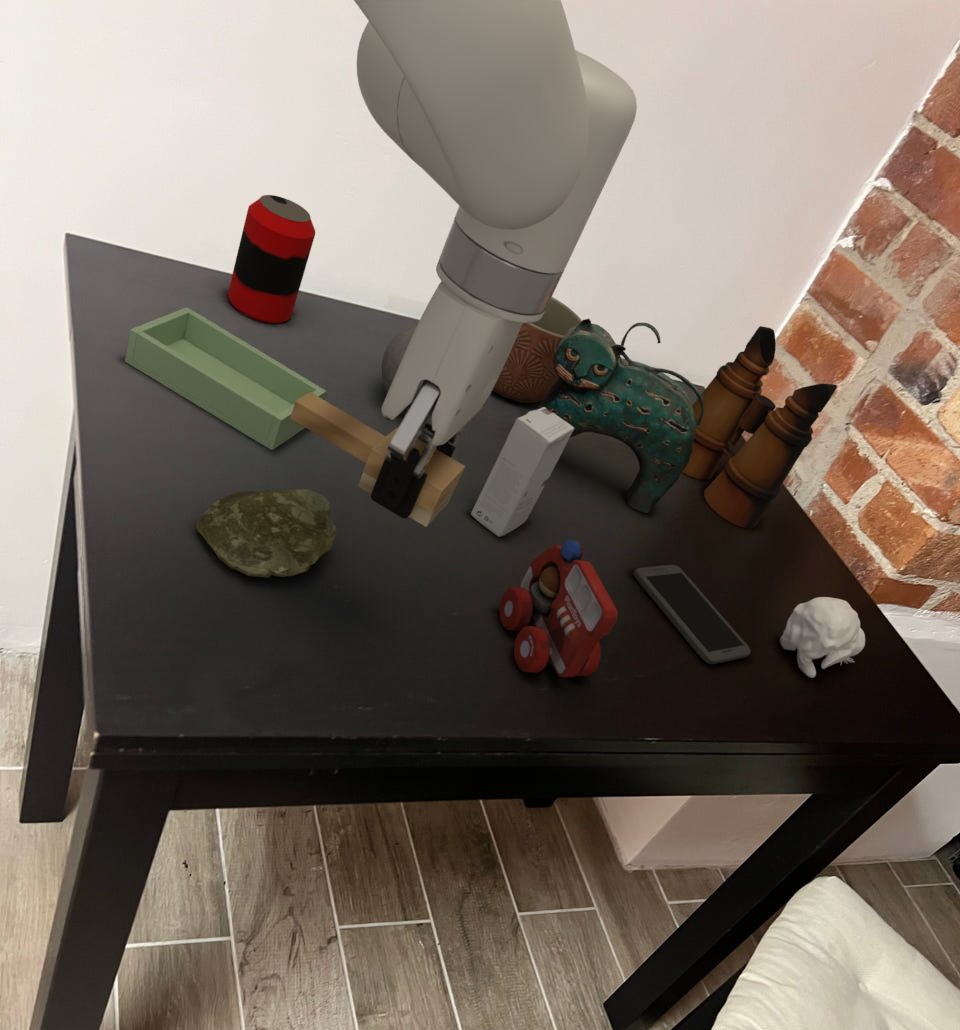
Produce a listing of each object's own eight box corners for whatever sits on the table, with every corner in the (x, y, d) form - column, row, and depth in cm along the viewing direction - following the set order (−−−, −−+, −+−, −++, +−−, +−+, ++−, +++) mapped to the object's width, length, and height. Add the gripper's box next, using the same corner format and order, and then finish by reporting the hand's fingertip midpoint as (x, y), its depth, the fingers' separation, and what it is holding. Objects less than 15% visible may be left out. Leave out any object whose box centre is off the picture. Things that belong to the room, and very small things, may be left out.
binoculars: (769, 527, 122) (866, 402, 110) (731, 529, 117) (829, 398, 105) (688, 442, 131) (769, 318, 119) (649, 441, 126) (730, 310, 114)
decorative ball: (462, 438, 105) (497, 363, 99) (384, 427, 100) (416, 347, 94) (434, 389, 111) (465, 315, 105) (359, 376, 106) (387, 297, 99)
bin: (124, 361, 89) (130, 328, 87) (180, 337, 96) (186, 306, 94) (271, 450, 88) (281, 420, 86) (316, 419, 95) (326, 390, 93)
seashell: (176, 514, 74) (267, 432, 74) (202, 532, 81) (285, 456, 82) (261, 605, 73) (352, 521, 74) (280, 615, 81) (363, 538, 81)
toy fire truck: (549, 601, 89) (599, 521, 83) (591, 698, 82) (650, 618, 75) (487, 593, 86) (534, 509, 80) (525, 693, 78) (581, 609, 72)
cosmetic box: (500, 539, 94) (552, 444, 86) (466, 514, 94) (515, 417, 87) (527, 521, 98) (579, 429, 91) (495, 497, 99) (544, 403, 92)
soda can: (276, 293, 112) (302, 197, 104) (300, 327, 108) (330, 231, 101) (217, 285, 107) (240, 185, 100) (241, 321, 103) (267, 219, 96)
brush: (276, 439, 68) (288, 398, 66) (307, 418, 71) (319, 379, 69) (425, 528, 67) (442, 490, 65) (448, 502, 71) (465, 466, 69)
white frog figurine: (812, 582, 96) (871, 588, 103) (760, 637, 100) (819, 640, 108) (850, 626, 92) (908, 629, 100) (794, 681, 97) (853, 680, 104)
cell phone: (673, 568, 104) (676, 563, 103) (750, 657, 97) (754, 652, 96) (629, 572, 99) (633, 567, 99) (707, 666, 92) (711, 661, 92)
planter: (473, 346, 124) (506, 272, 117) (554, 387, 126) (591, 316, 119) (455, 381, 115) (489, 303, 108) (542, 425, 116) (582, 350, 109)
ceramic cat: (503, 455, 106) (582, 299, 94) (510, 430, 111) (586, 279, 99) (653, 524, 109) (748, 382, 97) (652, 497, 114) (743, 359, 102)
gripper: (492, 218, 64) (407, 429, 76) (392, 268, 51) (307, 514, 63) (583, 271, 64) (484, 475, 76) (506, 335, 51) (400, 570, 63)
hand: (405, 491), depth 69 cm, fingers closed on brush, 4 cm apart
